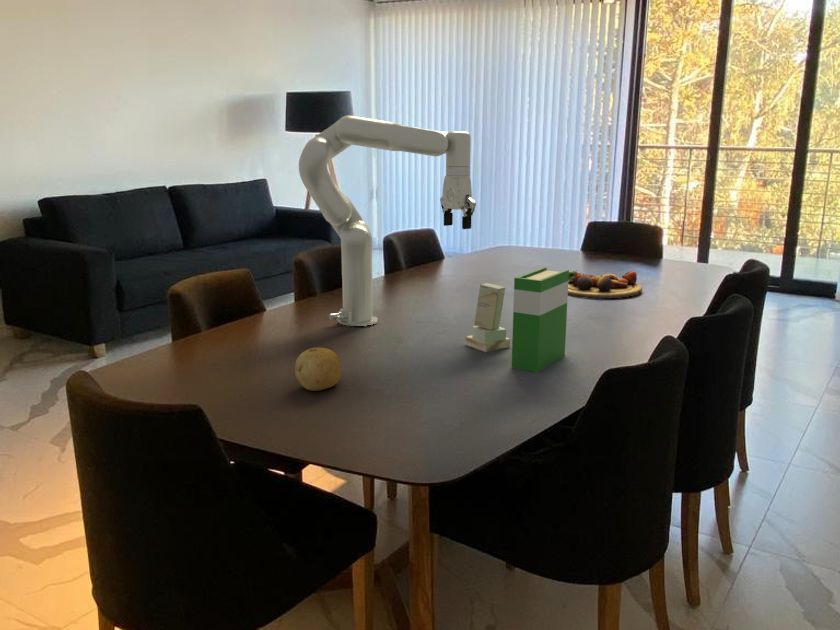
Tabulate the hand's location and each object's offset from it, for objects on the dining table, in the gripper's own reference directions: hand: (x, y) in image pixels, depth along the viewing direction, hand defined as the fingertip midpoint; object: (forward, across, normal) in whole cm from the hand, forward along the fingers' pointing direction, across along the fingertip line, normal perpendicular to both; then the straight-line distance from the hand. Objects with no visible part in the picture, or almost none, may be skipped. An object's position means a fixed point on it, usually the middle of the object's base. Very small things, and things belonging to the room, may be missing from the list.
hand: (457, 227), depth 245 cm
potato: (+31, +34, -67) cm, 81 cm away
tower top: (+28, +29, -10) cm, 42 cm away
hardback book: (+31, +48, -8) cm, 57 cm away
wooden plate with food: (+31, -6, +73) cm, 79 cm away
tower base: (+31, +29, -10) cm, 43 cm away
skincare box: (+25, +29, -11) cm, 40 cm away
